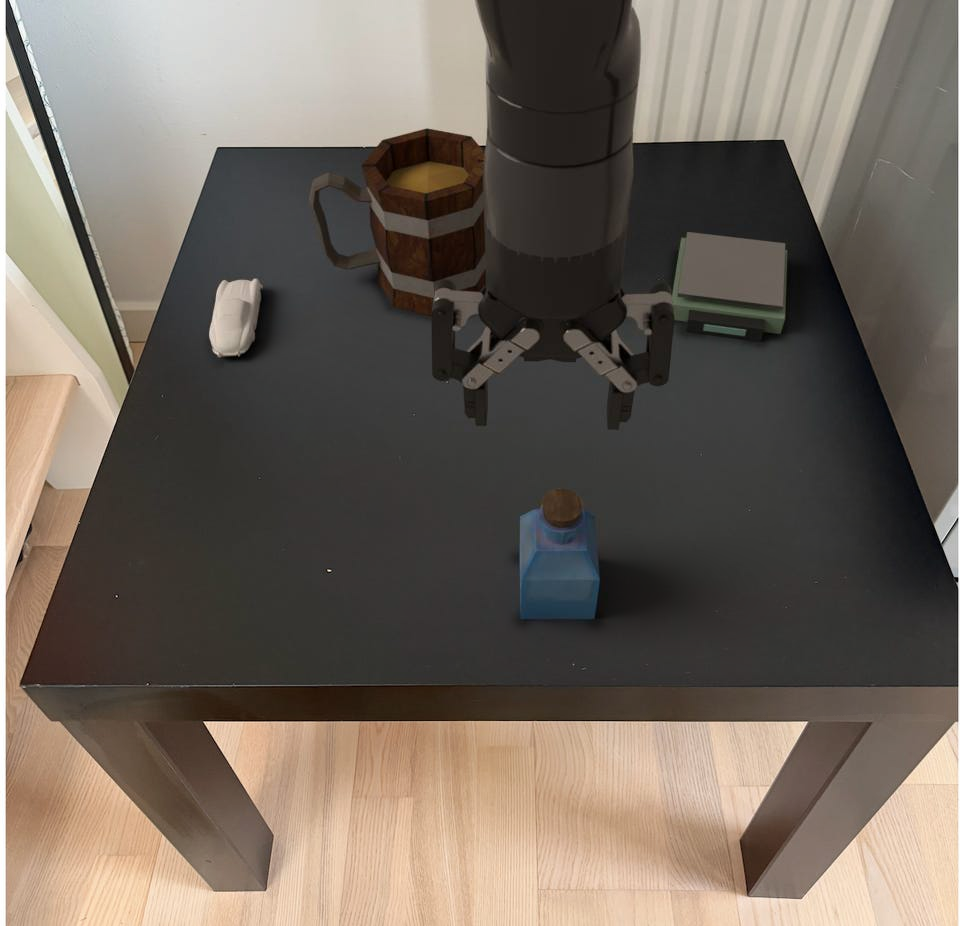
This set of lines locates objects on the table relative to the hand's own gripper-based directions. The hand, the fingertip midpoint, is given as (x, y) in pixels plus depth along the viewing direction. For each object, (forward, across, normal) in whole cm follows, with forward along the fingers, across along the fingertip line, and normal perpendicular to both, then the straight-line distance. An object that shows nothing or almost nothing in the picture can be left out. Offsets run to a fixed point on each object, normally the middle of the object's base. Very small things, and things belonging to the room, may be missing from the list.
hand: (547, 418), depth 59 cm
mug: (+24, -16, +43) cm, 51 cm away
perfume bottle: (+24, +1, +2) cm, 24 cm away
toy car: (+24, -34, +34) cm, 54 cm away
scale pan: (+21, +21, +41) cm, 51 cm away
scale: (+24, +20, +41) cm, 52 cm away
